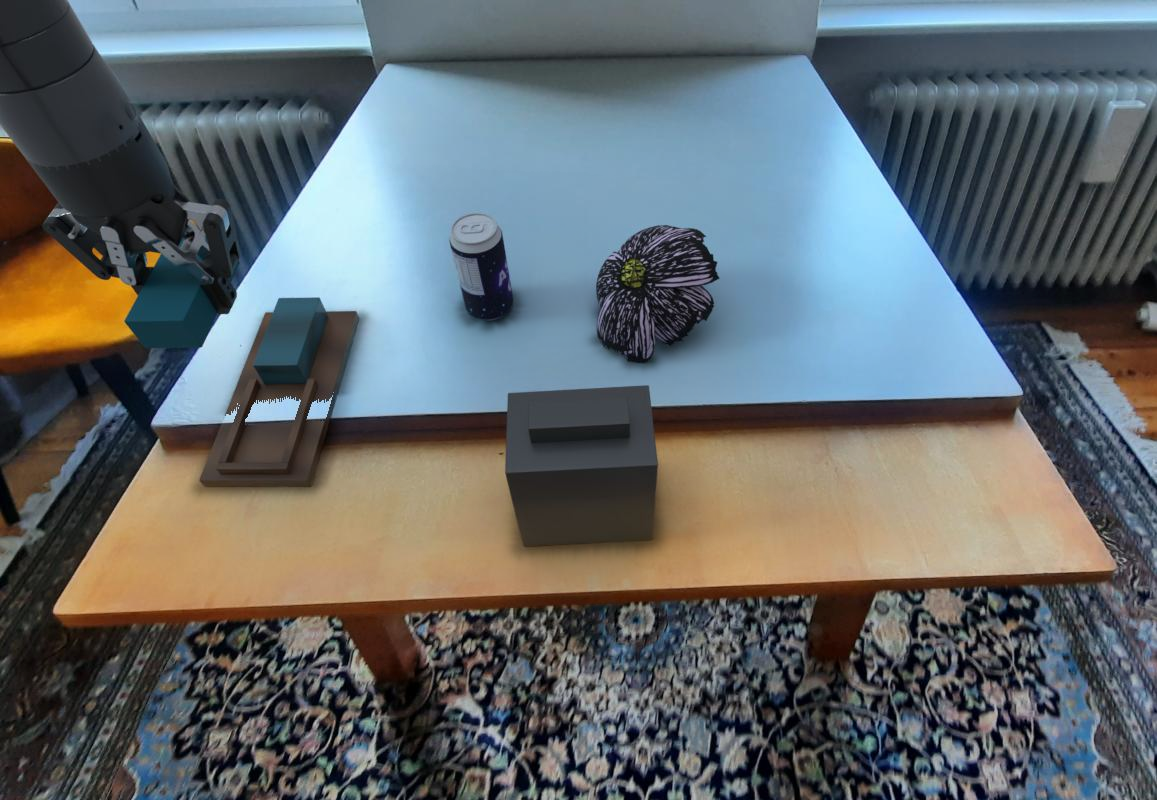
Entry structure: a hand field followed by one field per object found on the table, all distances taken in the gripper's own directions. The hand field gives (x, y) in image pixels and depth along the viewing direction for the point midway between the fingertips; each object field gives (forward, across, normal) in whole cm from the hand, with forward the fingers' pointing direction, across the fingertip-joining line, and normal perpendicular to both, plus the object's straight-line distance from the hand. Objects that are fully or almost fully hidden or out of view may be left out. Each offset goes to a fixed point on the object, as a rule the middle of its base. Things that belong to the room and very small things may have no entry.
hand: (196, 306), depth 62 cm
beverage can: (+19, +21, +18) cm, 33 cm away
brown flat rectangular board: (+19, 0, +5) cm, 19 cm away
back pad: (0, 0, 0) cm, 0 cm away
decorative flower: (+19, +39, +15) cm, 46 cm away
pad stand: (+19, +33, -9) cm, 39 cm away
